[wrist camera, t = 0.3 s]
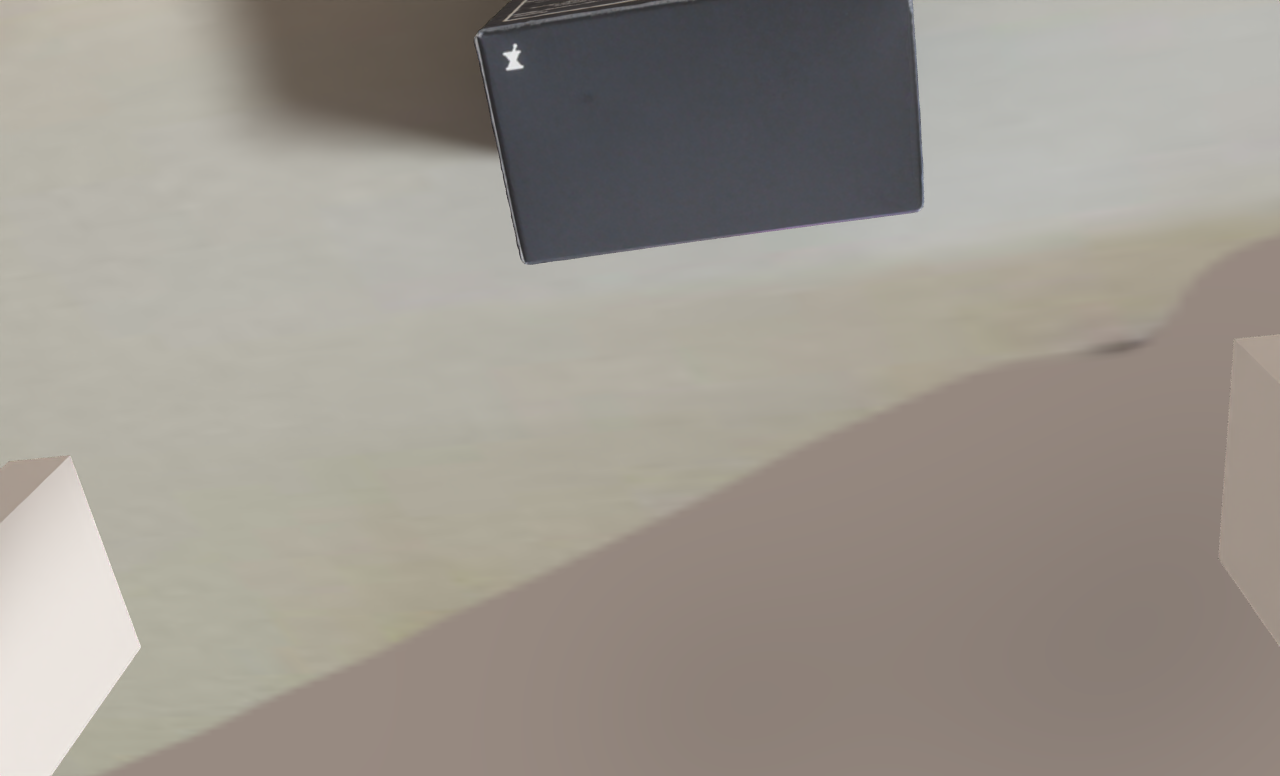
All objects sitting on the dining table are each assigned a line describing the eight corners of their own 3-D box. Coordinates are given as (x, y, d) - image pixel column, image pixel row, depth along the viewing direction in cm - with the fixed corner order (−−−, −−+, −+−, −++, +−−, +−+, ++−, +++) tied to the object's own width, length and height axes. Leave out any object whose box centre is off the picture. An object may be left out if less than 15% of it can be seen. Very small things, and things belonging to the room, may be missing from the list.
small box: (560, 177, 41) (513, 280, 31) (522, -25, 38) (459, 21, 29) (877, 131, 40) (930, 224, 30) (861, -80, 37) (912, -51, 28)
